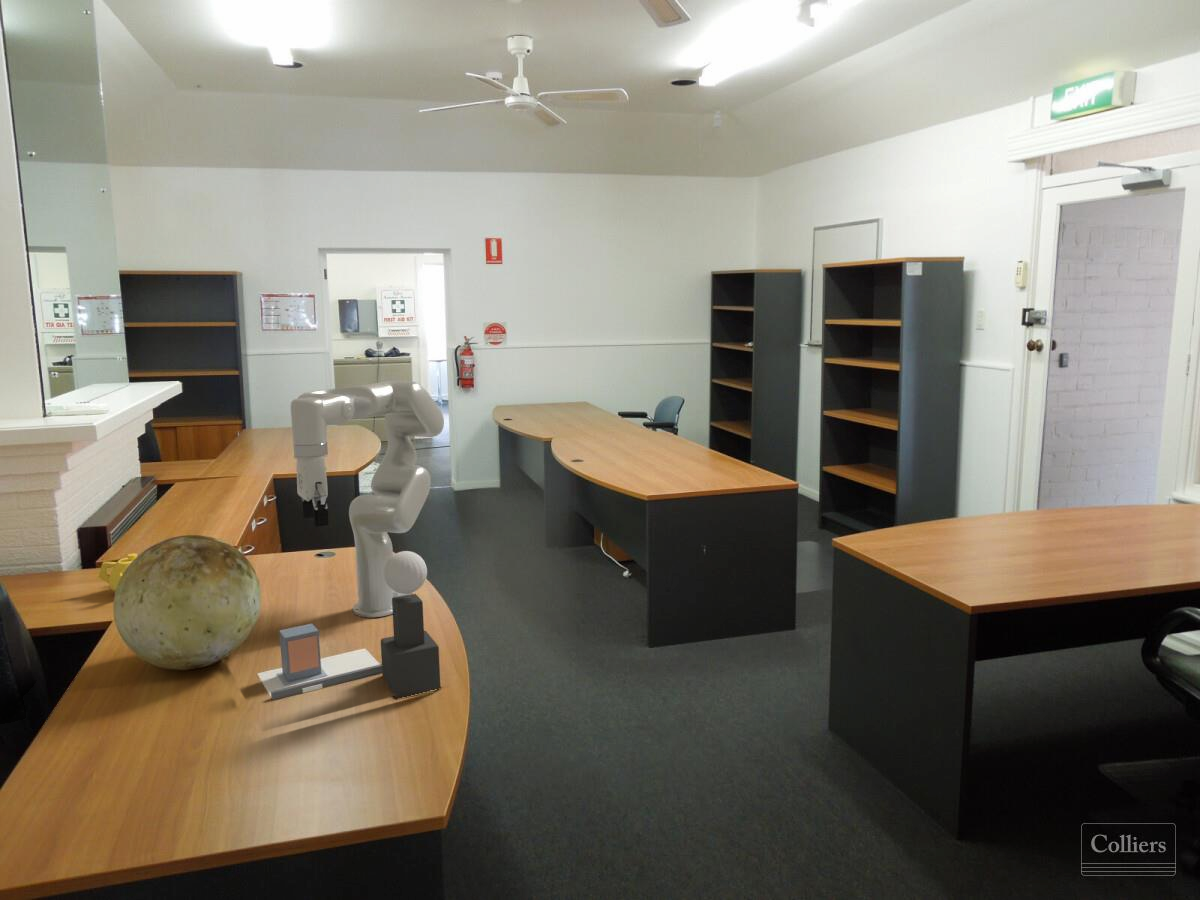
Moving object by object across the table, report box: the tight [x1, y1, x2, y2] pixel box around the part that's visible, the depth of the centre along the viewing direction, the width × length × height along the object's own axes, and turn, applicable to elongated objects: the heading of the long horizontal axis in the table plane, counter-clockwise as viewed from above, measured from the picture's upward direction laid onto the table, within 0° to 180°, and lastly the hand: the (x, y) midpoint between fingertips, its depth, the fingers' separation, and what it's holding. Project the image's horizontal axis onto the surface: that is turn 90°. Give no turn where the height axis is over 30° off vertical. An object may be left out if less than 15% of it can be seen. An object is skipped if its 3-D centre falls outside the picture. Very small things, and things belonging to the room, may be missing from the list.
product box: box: [278, 623, 322, 682], centre depth 182 cm, size 5×7×10 cm
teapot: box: [98, 552, 141, 593], centre depth 241 cm, size 20×18×11 cm
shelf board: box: [256, 647, 382, 701], centre depth 184 cm, size 24×15×3 cm, turn 123°
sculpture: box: [380, 550, 441, 700], centre depth 178 cm, size 10×10×30 cm
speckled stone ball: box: [113, 534, 262, 671], centre depth 190 cm, size 30×30×30 cm
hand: (315, 521), depth 199 cm, fingers open, 9 cm apart
